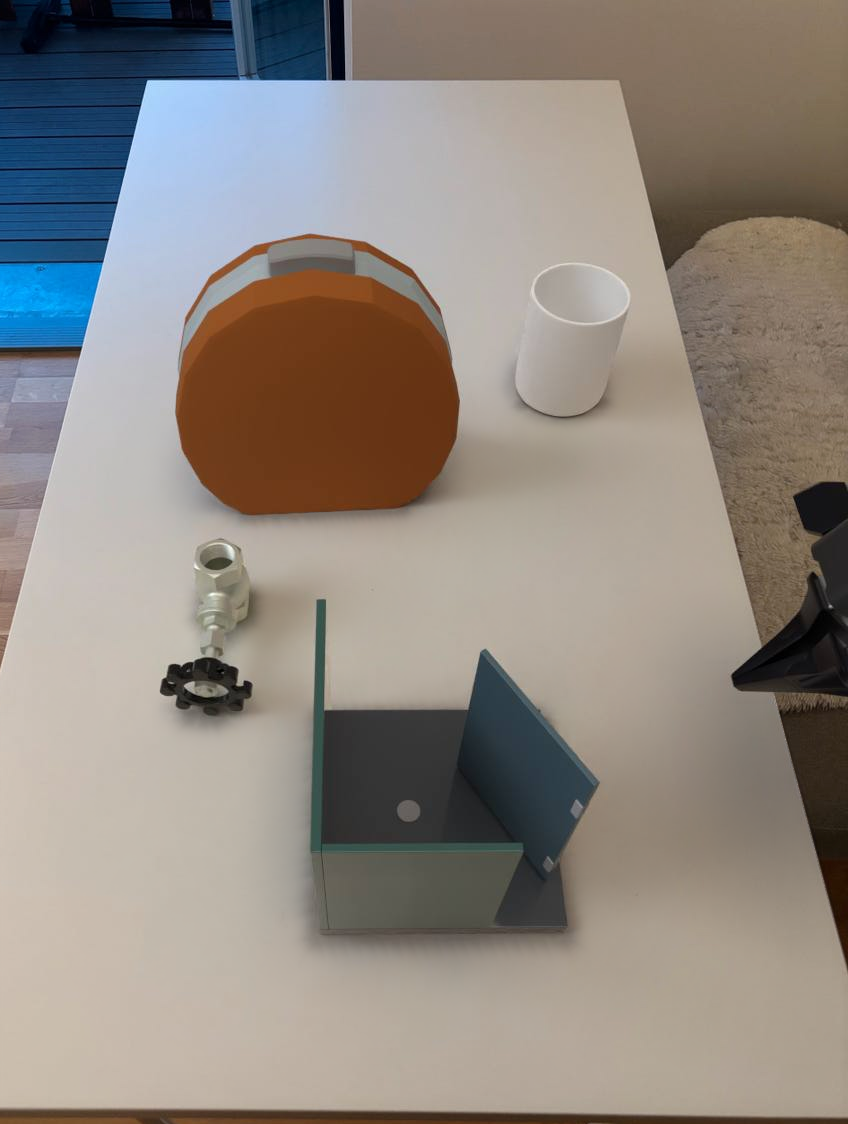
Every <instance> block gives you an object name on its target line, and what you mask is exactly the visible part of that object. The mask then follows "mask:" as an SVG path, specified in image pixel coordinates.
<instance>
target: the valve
mask: <svg viewBox="0 0 848 1124" xmlns="http://www.w3.org/2000/svg"><path fill="white" fill-rule="evenodd" d="M242 552H243V551H242V548H240V547H239V546H238V545H237V544H234V543H233V542H231V541H229V540H227V539H224V538H221V537H219V538H215V539H212V540H209V541H206V542H204V543H202V544H200V545H198V546H197V547H196V550H195V555H194V560H193V561H194V562H193V571H194V574H195V579H194V585H195V592H196V594H197V596H198V598H199V600H200V602H202V603H201V604H199V607H198V611H197V616H196V622H197V624H198V625H199V626H200V627H201V628H203V630H204V632H202V634H201V640H200V645H199V648H200V653H201V655H203V657H201V658H196V659H194V661H187V662H185V663H183V664H178V663H170V664H168V666H167V670H166V674H165V675H166V676H165V677H163V678H162V679H161V680H160V687H159V694H161V695H162V696H164V697H174V696H176V699H175V704H174V705H175V707H176V708H177V709H179V710H181V711H182V710H183V711H187V710H189V709H190V708H191V707H192V706H195V707H201V708H203V709H202V712H203V714H204V715H206V716H209V717H211V716H212V717H215V716H217V715H219V710H220V708H223V707H226V708H227V709H228V710H229V711H231V712H234V713H235V712H236V713H239V712H242V711H243V709H244V705H245V700H249V699H251V698H252V696H253V688H254V687H253V686H254V684H253V683H252V681H249V680H245V679H244V680H243V682H242V685H238V684H237V683H238V680H239V674H240V670H239V668H238V667H237V666H233V665H229V664H228V663H225V662H222V661H221V660H220V659H219V658H220V657H223V656H224V655H225V651H226V646H227V638H226V634H228V632H231V631H233V630H235V628H236V626H237V623H239V622H241V621H243V620H245V619H246V618H248V613H249V607H250V594H249V593H250V589H251V578H250V575H249V572H248V570H247V569H246V567H245V565H244V559H243V553H242ZM193 682H194V686H193V688H194V692H195V693H193V692H191V691H190V690H188V689H187V688H186V687H185V685H187V684H189V683H193ZM220 686H221V687H222V688H224V689H226V690H227V693H226V694H223V695H220V696H217V695H219V688H220Z"/></svg>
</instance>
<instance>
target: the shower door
mask: <svg viewBox="0 0 848 1124" xmlns="http://www.w3.org/2000/svg"><path fill="white" fill-rule="evenodd" d="M475 670H476V671H475V675H474V680H473V684H472V689H471V690H472V691H471V694H470V699H469V702H468V703H469V704H468V708H467V710H468V712H467V717H466V722H465V727H464V731H463V736H462V741H461V745H460V750H459V755H458V760H457V764H456V765H457V766H458V767H459V769H460V770H461V771H462V773H463V774H464V775H465V777H466V778H467V779H468V780H469V782H470V783H471V784H472V786H473V787H474V788H475V790H476V791H477V792H478V793H479V795H480V796H481V797H482V799H483V800H484V801H485V803H486V804H487V805H488V806H489V808H490V809H491V810H492V812H493V813H494V814H495V816H496V817H497V818H498V819H499V821H500V822H501V823H502V825H503V826H504V827H505V829H506V830H507V831H508V832H509V834H510V835H511V836H512V838H513V839H514V840H515V842H516V843H523V849H524V851H523V852H524V853H525V855H526V856H527V857H528V858H529V860H530V861H531V862H532V864H533V865H534V866H535V868H536V869H537V870H538V871H539V873H540V874H541V875H542V877H543V878H544V879H545V880H546V879H547V878H549V877H550V875H551V873H552V871H553V869H554V868H555V867H556V865H557V863H558V861H559V862H560V858H561V856H562V855H563V852H564V851H565V849H566V847H567V845H568V843H569V842H570V839H571V838H572V836H573V834H574V832H575V831H576V828H577V827H578V825H579V824H580V822H581V819H582V818H583V815H584V814H585V813H586V811H587V809H588V807H589V805H590V803H591V801H592V799H593V797H594V795H595V793H596V792H597V789H598V788H599V786H600V784H601V782H600V781H599V779H598V778H597V777H596V775H594V773H593V772H592V771H591V770H590V769H589V768H588V766H587V765H586V764H585V762H583V760H582V759H581V758H580V757H579V756H578V755H577V754H576V752H575V751H574V750H573V749H572V748H571V747H570V745H569V744H568V743H567V742H566V741H565V739H563V737H562V736H561V735H560V734H559V732H558V731H557V730H556V729H555V728H554V727H553V726H552V724H551V723H550V722H549V721H548V720H547V718H546V717H545V716H544V715H543V714H542V713H541V710H540V711H539V710H538V709H539V708H537V706H535V704H534V703H533V702H532V700H531V699H530V698H529V697H528V696H527V695H526V693H524V691H523V690H522V689H521V688H520V686H519V685H517V683H516V682H515V681H514V680H513V678H512V677H511V676H510V675H509V674H508V672H507V671H506V670H505V669H504V668H503V667H502V666H501V664H500V663H499V662H498V661H497V660H496V658H495V657H494V656H493V655H492V654H491V653H490V652H489V650H488V649H487V648H484V649H482V650H480V652H479V656H478V661H477V666H476V669H475Z"/></svg>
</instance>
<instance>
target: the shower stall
mask: <svg viewBox="0 0 848 1124" xmlns="http://www.w3.org/2000/svg"><path fill="white" fill-rule="evenodd" d="M327 604H328V603H327V599H326V598H317V599H316V601H315V605H316V606H315V637H314V639H315V640H314V641H315V642H314V675H313V676H314V679H313V680H314V681H313V683H314V684H313V716H312V717H313V722H312V757H311V792H310V794H311V797H310V799H311V800H310V832H309V833H310V834H309V835H310V836H309V841H310V842H309V857H310V862H311V871H312V879H313V881H312V882H313V889H314V896H315V904H316V912H317V921H318V928H319V934H320V935H375V934H376V935H377V934H378V935H380V934H381V935H382V934H385V935H386V934H387V935H388V934H389V935H390V934H391V935H392V934H393V935H395V934H396V935H397V934H398V935H399V934H401V935H402V934H410V935H411V934H529V933H530V934H535V933H538V934H539V933H541V934H543V933H545V934H546V933H547V934H548V933H549V934H551V933H555V934H556V933H565V932H566V931H567V929H568V927H569V925H568V917H567V910H566V902H565V893H564V886H563V878H562V871H561V870H562V869H561V863H560V860H559V861H558V863H557V865H556V867H555V868H554V869H553V871H552V873H551V875H550V877H549V878H547V879H546V880H545V879H544V878H543V877H542V875H541V874H540V873H539V871H538V870H537V869H536V868H535V866H534V865H533V864H532V862H531V861H530V860H529V858H528V857H527V856H526V855H525V853H524V852H523V851H524V849H523V843H516V842H515V840H514V839H513V838H512V836H511V835H510V834H509V832H508V831H507V830H506V829H505V827H504V826H503V825H502V823H501V822H500V821H499V819H498V818H497V817H496V816H495V814H494V813H493V812H492V810H491V809H490V808H489V806H488V805H487V804H486V803H485V801H484V800H483V799H482V797H481V796H480V795H479V793H478V792H477V791H476V790H475V788H474V787H473V786H472V784H471V783H470V782H469V780H468V779H467V778H466V777H465V775H464V774H463V773H462V771H461V770H460V769H459V767H458V766H457V765H456V764H457V760H458V755H459V750H460V745H461V741H462V736H463V731H464V727H465V722H466V717H467V712H468V709H332V689H331V687H332V686H331V670H330V669H331V668H330V650H329V649H330V648H329V627H328V605H327ZM537 709H538V710H539V711H540V712H541V709H540V708H537Z"/></svg>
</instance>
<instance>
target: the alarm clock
mask: <svg viewBox="0 0 848 1124" xmlns="http://www.w3.org/2000/svg"><path fill="white" fill-rule="evenodd" d="M177 359H178V360H177V374H178V381H177V388H176V394H175V409H174V413H175V414H174V415H175V420H176V425H177V430H178V431H177V432H178V437H179V441H180V442H179V443H180V446H181V450H182V453H183V455H184V457H185V458H186V460H187V462H188V463H189V466H190V467H191V468H192V470H193V471H194V472H193V473H195V475H196V477H197V478H198V480H199V482H200V483H201V485H202V486H203V487H205V489H207V490H208V491H209V492H210V493H211V494H212V495H213V496H214V497H216V498H217V500H219V502H221V503H222V504H224V505H226V507H229V508H232V509H233V510H235V511H237V512H239V513H241V514H245V515H250V516H257V515H258V516H259V515H278V514H281V515H282V514H299V513H300V514H301V513H319V512H321V513H323V512H342V511H343V512H344V511H363V510H364V511H365V510H385V509H387V510H388V509H399V508H401V507H404V506H405V505H407V504H409V503H410V502H412V501H413V500H415V499H416V498H418V497H419V496H421V495H422V494H424V492H425V491H426V490H427V489H428V488H429V486H431V484H433V482H434V481H435V480H436V479H437V478H438V477H439V476H440V475H441V473H442V471H443V469H444V467H445V465H446V463H447V461H448V458H449V457H450V455H451V452H452V450H453V448H454V446H455V444H456V441H457V438H458V428H459V427H458V426H459V415H460V405H461V398H460V394H459V387H458V383H457V379H456V375H455V370H454V367H453V354H452V350H451V345H450V341H449V337H448V333H447V329H446V326H445V322H444V318H443V314H442V310H441V307H440V306H439V305H438V303H437V301H436V300H435V299H434V297H433V296H432V295H431V293H430V292H429V291H428V289H427V288H426V286H425V285H424V284H423V282H422V281H421V279H420V278H419V277H418V275H417V273H416V272H415V271H414V270H413V268H411V267H410V266H409V265H407V264H405V263H404V262H402V261H399V260H398V259H396V258H395V257H393V256H391V255H389V254H387V253H386V252H384V251H382V250H381V249H379V248H377V247H375V245H372V244H370V243H369V242H367V241H364V240H356V239H350V238H343V237H336V236H331V235H323V234H316V233H305V234H301V235H295V236H291V237H288V238H287V237H286V238H282V239H278V240H273V241H269V242H268V241H267V242H264V243H259V244H255V245H253V246H251V247H250V248H248V249H247V250H246V251H244V252H242V253H241V254H240V255H238V256H236V258H234V259H232V260H231V261H229V262H228V263H226V264H225V265H223V266H222V267H220V268H219V269H218V270H216V271H215V272H213V273H212V274H210V276H208V279H207V280H206V282H205V283H204V285H203V287H202V289H201V290H200V292H199V294H198V295H197V296H196V298H195V301H194V302H193V304H192V305H191V307H190V308H189V311H188V312H187V314H186V315H185V317H184V323H183V330H182V334H181V341H180V347H179V354H178V358H177Z"/></svg>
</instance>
